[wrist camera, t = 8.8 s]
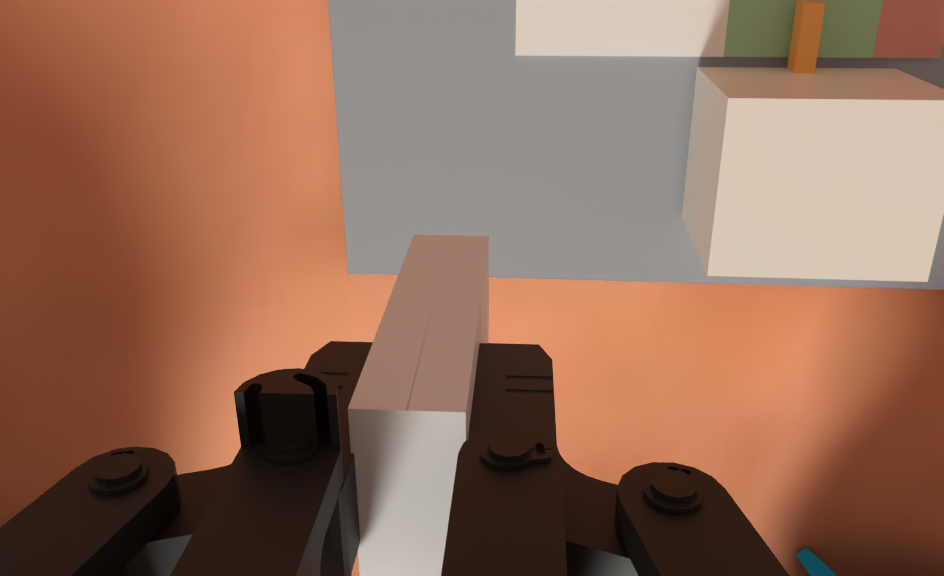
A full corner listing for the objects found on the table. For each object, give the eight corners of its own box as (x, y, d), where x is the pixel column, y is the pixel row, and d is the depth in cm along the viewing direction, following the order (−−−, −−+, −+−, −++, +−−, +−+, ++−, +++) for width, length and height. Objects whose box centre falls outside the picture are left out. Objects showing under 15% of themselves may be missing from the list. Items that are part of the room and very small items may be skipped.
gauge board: (354, 261, 31) (303, 351, 25) (335, -21, 27) (268, -2, 21) (1140, 282, 29) (1312, 387, 23) (1245, -22, 25) (1493, -1, 18)
